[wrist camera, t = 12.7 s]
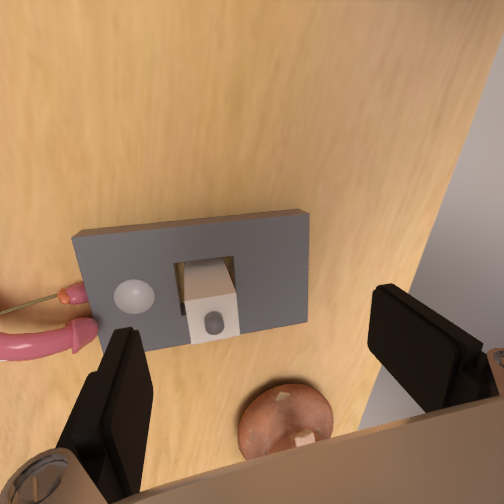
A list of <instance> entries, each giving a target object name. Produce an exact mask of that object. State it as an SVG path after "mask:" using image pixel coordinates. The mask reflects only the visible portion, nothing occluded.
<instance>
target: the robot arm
mask: <svg viewBox="0 0 504 504" xmlns="http://www.w3.org/2000/svg"><path fill="white" fill-rule="evenodd" d="M367 344H368V348H369V350H370V351H371V352H372V354H373V355H374V356H375V357H376V358H377V359H378V360H379V361H380V362H381V364H382V365H383V366H384V367H385V368H386V369H387V370H388V371H389V372H390V373H391V375H392V376H393V377H394V378H395V379H396V380H397V381H398V382H399V384H400V385H401V386H402V387H403V388H404V389H405V390H406V391H407V392H408V394H409V395H410V396H411V397H412V398H413V399H414V400H415V401H416V403H417V404H418V405H419V406H420V407H421V408H422V409H423V410H424V411H425V414H421V415H418V416H414V417H410V418H406V419H402V420H398V421H394V422H390V423H386V424H382V425H379V426H375V427H371V428H367V429H364V430H360V431H356V432H352V433H348V434H344V435H340V436H337V437H333V438H329V439H325V440H322V441H318V442H314V443H310V444H306V445H303V446H299V447H295V448H291V449H288V450H284V451H280V452H277V453H273V454H269V455H266V456H262V457H258V458H254V459H251V460H247V461H243V462H240V463H236V464H232V465H228V466H225V467H221V468H218V469H214V470H211V471H207V472H204V473H200V474H197V475H193V476H190V477H186V478H183V479H180V480H176V481H173V482H169V483H166V484H163V485H160V486H157V487H154V488H151V489H148V490H145V491H142V492H140V486H141V479H142V472H143V465H144V458H145V451H146V444H147V437H148V430H149V423H150V416H151V409H152V402H153V385H152V381H151V377H150V373H149V369H148V365H147V360H146V356H145V352H144V348H143V344H142V340H141V336H140V332H139V330H134V329H133V327H126V328H120V329H115V330H114V331H113V334H112V336H111V338H110V341H109V343H108V346H107V348H106V351H105V353H104V355H103V358H102V360H101V363H100V365H99V367H98V370H97V371H95V372H91V373H90V374H89V375H88V376H87V378H86V380H85V383H84V385H83V387H82V389H81V391H80V394H79V396H78V398H77V400H76V403H75V405H74V407H73V409H72V412H71V414H70V416H69V418H68V421H67V423H66V425H65V427H64V430H63V432H62V434H61V436H60V439H59V441H58V443H57V445H56V448H54V449H49V450H47V451H44V452H42V453H40V454H38V455H36V456H35V457H33V458H31V459H30V460H28V461H27V462H26V463H25V464H24V465H22V466H21V467H20V468H19V469H18V470H17V471H16V472H15V473H14V474H13V475H12V476H11V478H10V479H9V480H8V481H7V483H6V485H5V486H4V488H3V490H2V491H1V494H0V504H504V348H493V349H490V350H489V351H488V352H487V354H485V353H484V352H482V351H481V350H482V347H483V343H482V342H480V341H479V340H477V339H476V338H474V337H473V336H471V335H470V334H468V333H467V332H465V331H464V330H462V329H461V328H459V327H458V326H456V325H455V324H453V323H452V322H450V321H449V320H447V319H446V318H444V317H442V316H441V315H440V314H438V313H436V312H435V311H434V310H432V309H430V308H429V307H427V306H426V305H424V304H423V303H421V302H420V301H418V300H417V299H415V298H414V297H412V296H411V295H409V294H408V293H406V292H405V291H403V290H402V289H400V288H399V287H397V286H396V285H394V284H392V283H391V284H384V285H378V286H377V287H376V289H375V290H374V291H373V294H372V304H371V313H370V322H369V332H368V341H367Z"/></svg>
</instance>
